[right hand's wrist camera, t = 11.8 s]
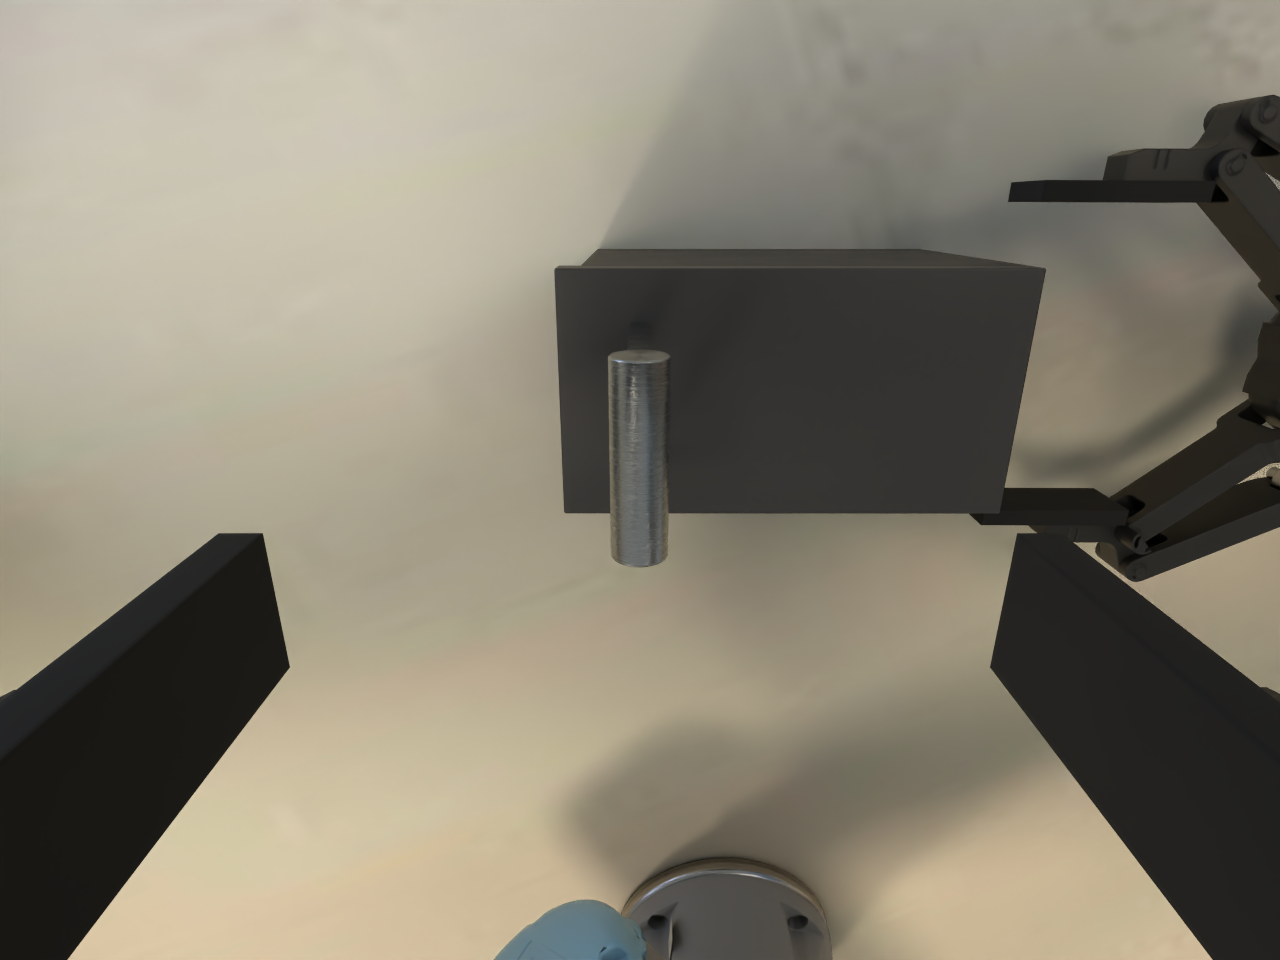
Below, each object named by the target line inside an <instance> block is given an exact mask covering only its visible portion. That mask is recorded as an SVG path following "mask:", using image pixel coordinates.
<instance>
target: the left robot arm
mask: <svg viewBox="0 0 1280 960" xmlns="http://www.w3.org/2000/svg"><path fill="white" fill-rule="evenodd" d="M1203 126H1204V130H1205V132H1204V134H1203V135H1202V137H1201V139H1200V140H1199V141H1198V143H1196V144H1195V145H1194V146H1193V147H1192V148H1190V149H1137V150H1128V151H1121V152H1118V153H1116V154H1113V155H1111V156H1108V158H1107V163H1106V167H1105V172H1104V177H1103V180H1040V181H1026V182H1012V183H1011V188H1010V194H1009V200H1008V202H1134V203H1180V202H1196V203H1197V204H1198V205H1199V207H1200V208H1201V209H1202V210H1203V211H1204V213H1205V214H1206V215H1207V216H1208V217H1209V219H1210V220H1211V221H1212V222H1213V223H1214V225H1215V226H1216V227H1217V228H1218V229H1219V230H1220V232H1221V233H1222V234H1223V235H1224V236H1225V238H1226V239H1227V240H1228V241H1229V242H1230V244H1231V245H1232V246H1233V247H1234V248H1235V250H1236V251H1237V252H1238V253H1239V254H1240V256H1241V257H1242V258H1243V259H1244V260H1245V262H1246V263H1247V264H1248V265H1249V266H1250V268H1251V269H1252V270H1253V271H1254V272H1255V274H1256V275H1257V276H1258V277H1259V278H1260V282H1259V283H1258V286H1259V288H1260V289H1261V291H1262V292H1263V293H1264V294H1265V295H1266V296H1267V298H1268V299H1269V300H1270V301H1271V302H1272V304H1273V305H1274V306H1275V307H1276V308H1277V310H1278V311H1279V312H1278V313H1277V314H1276V315H1275V316H1274V318H1273V319H1272V320H1271V322H1270V323H1267V322H1263V325H1262V329H1261V332H1260V335H1259V338H1258V354H1257V359H1256V361H1255V363H1254V364H1253V366H1252V368H1251V369H1250V371H1249V373H1248V375H1247V378H1246V381H1245V384H1244V387H1243V392H1246V393H1249V399H1247V400H1246V401H1244V402H1243V403H1241V404H1240V405H1238V406H1237V407H1235V408H1234V409H1232V410H1231V411H1229V412H1228V413H1226V414H1225V415H1223V416H1221V417H1220V418H1219V419H1218V420H1217V427H1216V428H1215V429H1214V430H1213V431H1211V432H1210V433H1208V434H1206V435H1205V436H1203V437H1202V438H1200V439H1199V440H1197V441H1196V442H1194V443H1193V444H1191V445H1190V446H1188V447H1187V448H1185V449H1184V450H1182V451H1180V452H1179V453H1177V454H1176V455H1174V456H1173V457H1171V458H1170V459H1168V460H1167V461H1165V462H1164V463H1162V464H1161V465H1159V466H1157V467H1156V468H1154V469H1153V470H1151V471H1150V472H1148V473H1147V474H1145V475H1144V476H1142V477H1141V478H1139V479H1138V480H1136V481H1134V482H1133V483H1131V484H1130V485H1128V486H1127V487H1125V488H1124V489H1122V490H1121V491H1119V492H1118V493H1116V494H1115V495H1113V496H1111V497H1110V498H1108V497H1107V496H1105V495H1104V494H1102V493H1100V492H1099V491H1097V490H1095V489H1094V488H1004V492H1003V497H1002V502H1001V507H1000V512H999V513H969V514H970V515H971V516H972V517H973V518H974V519H975V520H976V521H977V522H978V523H979V524H980V525H1029V527H1031V528H1032V529H1033V530H1034V531H1036V532H1037V533H1061V534H1063V535H1064V536H1065V537H1067V538H1068V539H1069V540H1070V541H1072V542H1099V543H1098V544H1097V546H1096V548H1095V550H1096V554H1097V556H1099V557H1100V558H1101V559H1103V560H1104V561H1105V562H1106V563H1108V564H1109V565H1110V566H1112V567H1113V568H1114V569H1116V570H1117V571H1118V572H1120V573H1121V574H1122V575H1124V576H1125V577H1126V578H1128V579H1129V580H1131V581H1134V582H1138V581H1142V580H1145V579H1147V578H1150V577H1153V576H1155V575H1158V574H1160V573H1163V572H1165V571H1168V570H1171V569H1173V568H1176V567H1178V566H1181V565H1183V564H1186V563H1188V562H1191V561H1194V560H1196V559H1199V558H1201V557H1204V556H1206V555H1209V554H1212V553H1214V552H1217V551H1219V550H1222V549H1224V548H1227V547H1229V546H1232V545H1235V544H1237V543H1240V542H1242V541H1245V540H1247V539H1250V538H1252V537H1255V536H1258V535H1260V534H1263V533H1265V532H1268V531H1270V530H1273V529H1276V528H1278V527H1280V469H1279V468H1277V467H1272V468H1270V469H1269V470H1268V471H1267V473H1266V475H1267V477H1263V478H1257V479H1253V480H1249V481H1246V482H1243V483H1240V484H1238V483H1239V482H1241V481H1242V480H1244V479H1246V478H1247V477H1249V476H1250V475H1252V474H1254V473H1255V472H1257V471H1258V470H1260V469H1261V468H1263V467H1265V466H1266V465H1268V464H1271V463H1280V191H1279V189H1278V188H1277V187H1276V186H1275V184H1274V183H1273V182H1272V180H1271V179H1270V178H1269V177H1268V175H1267V174H1266V173H1268V174H1269V175H1271V176H1272V177H1274V178H1275V179H1277V180H1278V181H1280V97H1278V96H1276V95H1269V96H1263V97H1256V98H1251V99H1245V100H1240V101H1234V102H1229V103H1223V104H1218V105H1216V106H1214V107H1213V108H1211V110H1210V111H1209V112H1208V113H1207V115H1206V117H1205V119H1204V125H1203ZM1264 171H1265V172H1266V173H1265V172H1264ZM1265 422H1268V423H1269V424H1270V425H1271V426H1272V427H1273V428H1274V429H1271V428H1268V427H1265V426H1262V424H1263V423H1265ZM1236 484H1237V485H1236ZM494 960H832V949H831V941H830V935H829V930H828V926H827V923H826V919H825V915H824V912H823V910H822V907H821V905H820V903H819V901H818V900H817V898H816V897H815V896H814V894H813V893H812V892H811V891H810V890H809V889H808V888H807V887H806V886H805V885H804V884H803V883H802V882H801V881H799V880H798V879H796V878H795V877H794V876H792V875H790V874H788V873H787V872H785V871H783V870H780V869H778V868H776V867H773V866H770V865H768V864H764V863H760V862H756V861H751V860H745V859H736V858H715V859H706V860H700V861H694V862H690V863H686V864H683V865H680V866H677V867H674V868H672V869H669V870H667V871H665V872H663V873H661V874H659V875H657V876H656V877H654V878H653V879H651V880H650V881H648V882H647V883H645V884H644V885H643V886H642V887H640V888H639V889H638V890H637V891H636V892H635V893H634V894H633V896H632V897H631V898H630V899H629V900H628V902H627V904H626V905H625V907H624V908H623V910H622V912H621V914H620V913H619V912H617V911H616V910H615V909H614V908H612V907H611V906H609V905H607V904H605V903H603V902H600V901H596V900H577V901H572V902H569V903H565V904H563V905H560V906H558V907H556V908H554V909H552V910H550V911H548V912H547V913H545V914H544V915H543V916H542V917H540V918H539V919H538V920H537V921H536V922H534V923H533V924H530V925H528V926H526V927H525V928H524V929H523V930H522V931H521V932H519V933H518V934H517V935H516V936H515V937H514V938H513V939H512V940H511V941H510V942H509V943H508V944H507V945H506V946H505V947H504V948H503V949H502V951H501V952H500V953H499V954H498V955H497V956H496V957H495V959H494Z"/></svg>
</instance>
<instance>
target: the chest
mask: <svg viewBox="0 0 1280 960" xmlns="http://www.w3.org/2000/svg"><path fill="white" fill-rule="evenodd" d="M581 266H1026V265H1020V264H1013V263H1007V262H1000V261H994V260H987V259H980V258H974V257H967V256H961V255H954V254H947V253H941V252H934V251H928V250H921V249H598V250H597V251H596V252H595V253H594V254H593V255H591V256H590V257H589V258H588V259H587V260H586V261H585V262H584V263H583V264H582V265H581Z"/></svg>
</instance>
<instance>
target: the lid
mask: <svg viewBox="0 0 1280 960" xmlns="http://www.w3.org/2000/svg"><path fill="white" fill-rule="evenodd" d="M554 271H555V295H556V320H557V345H558V370H559V395H560V419H561V444H562V469H563V494H564V512H565V513H610V518H611V556H612V558H613V559H614V560H615V561H616V562H618V563H620V564H622V565H626V566H631V567H648V566H653V565H656V564H659V563H661V562H663V561H664V560H665V559H666V557H667V555H668V513H999V512H1000V507H1001V502H1002V497H1003V492H1004V487H1005V481H1006V476H1007V471H1008V466H1009V460H1010V455H1011V450H1012V445H1013V439H1014V434H1015V429H1016V424H1017V418H1018V413H1019V408H1020V403H1021V398H1022V392H1023V387H1024V382H1025V377H1026V371H1027V366H1028V361H1029V356H1030V350H1031V345H1032V340H1033V335H1034V329H1035V324H1036V319H1037V314H1038V309H1039V303H1040V298H1041V293H1042V288H1043V282H1044V277H1045V272H1046V269H1045V268H1040V267H1033V266H558V267H557V268H555V270H554Z"/></svg>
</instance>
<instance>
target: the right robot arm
mask: <svg viewBox="0 0 1280 960" xmlns="http://www.w3.org/2000/svg"><path fill="white" fill-rule="evenodd" d="M289 668H290V666H289V661H288V656H287V651H286V646H285V641H284V636H283V631H282V626H281V621H280V616H279V611H278V606H277V601H276V597H275V592H274V587H273V582H272V577H271V572H270V567H269V562H268V557H267V552H266V547H265V542H264V537H263V533H219V534H217V535H216V536H215V537H213V538H212V539H211V540H210V541H208V542H207V543H206V544H204V545H203V546H202V547H201V548H199V549H198V550H197V551H195V552H194V553H193V554H191V555H190V556H189V557H188V558H186V559H185V560H184V561H182V562H181V563H180V564H179V565H177V566H176V567H175V568H173V569H172V570H171V571H170V572H168V573H167V574H166V575H164V576H163V577H162V578H161V579H159V580H158V581H157V582H155V583H154V584H153V585H151V586H150V587H149V588H148V589H146V590H145V591H144V592H142V593H141V594H140V595H139V596H137V597H136V598H135V599H133V600H132V601H131V602H130V603H128V604H127V605H126V606H124V607H123V608H122V609H120V610H119V611H118V612H117V613H115V614H114V615H113V616H111V617H110V618H109V619H108V620H106V621H105V622H104V623H102V624H101V625H100V626H99V627H97V628H96V629H95V630H93V631H92V632H91V633H89V634H88V635H87V636H86V637H84V638H83V639H82V640H80V641H79V642H78V643H77V644H75V645H74V646H73V647H71V648H70V649H69V650H68V651H66V652H65V653H64V654H62V655H61V656H60V657H59V658H57V659H56V660H55V661H53V662H52V663H51V664H49V665H48V666H47V667H46V668H44V669H43V670H42V671H40V672H39V673H38V674H37V675H35V676H34V677H33V678H31V679H30V680H29V681H28V682H26V683H25V684H24V685H22V686H21V687H20V688H18V689H17V690H13V691H11V692H9V693H7V694H5V695H3V696H1V697H0V960H67V959H68V958H69V957H70V955H71V954H72V953H73V951H74V950H75V949H76V948H77V946H78V945H79V944H80V942H81V941H82V940H83V938H84V937H85V936H86V934H87V933H88V932H89V930H90V929H91V928H92V927H93V925H94V924H95V923H96V921H97V920H98V919H99V917H100V916H101V915H102V913H103V912H104V911H105V909H106V908H107V907H108V905H109V904H110V903H111V902H112V900H113V899H114V898H115V896H116V895H117V894H118V892H119V891H120V890H121V888H122V887H123V886H124V884H125V883H126V882H127V881H128V879H129V878H130V877H131V875H132V874H133V873H134V871H135V870H136V869H137V867H138V866H139V865H140V863H141V862H142V861H143V860H144V858H145V857H146V856H147V854H148V853H149V852H150V850H151V849H152V848H153V846H154V845H155V844H156V842H157V841H158V840H159V838H160V837H161V836H162V835H163V833H164V832H165V831H166V829H167V828H168V827H169V825H170V824H171V823H172V821H173V820H174V819H175V817H176V816H177V815H178V814H179V812H180V811H181V810H182V808H183V807H184V806H185V804H186V803H187V802H188V800H189V799H190V798H191V796H192V795H193V794H194V792H195V791H196V790H197V789H198V787H199V786H200V785H201V783H202V782H203V781H204V779H205V778H206V777H207V775H208V774H209V773H210V771H211V770H212V769H213V768H214V766H215V765H216V764H217V762H218V761H219V760H220V758H221V757H222V756H223V754H224V753H225V752H226V750H227V749H228V748H229V747H230V745H231V744H232V743H233V741H234V740H235V739H236V737H237V736H238V735H239V733H240V732H241V731H242V729H243V728H244V727H245V725H246V724H247V723H248V722H249V720H250V719H251V718H252V716H253V715H254V714H255V712H256V711H257V710H258V708H259V707H260V706H261V704H262V703H263V702H264V701H265V699H266V698H267V697H268V695H269V694H270V693H271V691H272V690H273V689H274V687H275V686H276V685H277V683H278V682H279V681H280V679H281V678H282V677H283V676H284V674H285V673H286V672H287V670H288V669H289ZM990 668H991V669H992V670H993V672H994V673H995V674H996V676H997V677H998V678H999V680H1000V681H1001V682H1002V683H1003V685H1004V686H1005V687H1006V689H1007V690H1008V691H1009V693H1010V694H1011V695H1012V697H1013V698H1014V699H1015V701H1016V702H1017V703H1018V704H1019V706H1020V707H1021V708H1022V710H1023V711H1024V712H1025V714H1026V715H1027V716H1028V718H1029V719H1030V720H1031V722H1032V723H1033V724H1034V725H1035V727H1036V728H1037V729H1038V731H1039V732H1040V733H1041V735H1042V736H1043V737H1044V739H1045V740H1046V741H1047V743H1048V744H1049V745H1050V747H1051V748H1052V749H1053V750H1054V752H1055V753H1056V754H1057V756H1058V757H1059V758H1060V760H1061V761H1062V762H1063V764H1064V765H1065V766H1066V768H1067V769H1068V770H1069V771H1070V773H1071V774H1072V775H1073V777H1074V778H1075V779H1076V781H1077V782H1078V783H1079V785H1080V786H1081V787H1082V789H1083V790H1084V791H1085V792H1086V794H1087V795H1088V796H1089V798H1090V799H1091V800H1092V802H1093V803H1094V804H1095V806H1096V807H1097V808H1098V810H1099V811H1100V812H1101V814H1102V815H1103V816H1104V817H1105V819H1106V820H1107V821H1108V823H1109V824H1110V825H1111V827H1112V828H1113V829H1114V831H1115V832H1116V833H1117V835H1118V836H1119V837H1120V838H1121V840H1122V841H1123V842H1124V844H1125V845H1126V846H1127V848H1128V849H1129V850H1130V852H1131V853H1132V854H1133V856H1134V857H1135V858H1136V860H1137V861H1138V862H1139V863H1140V865H1141V866H1142V867H1143V869H1144V870H1145V871H1146V873H1147V874H1148V875H1149V877H1150V878H1151V879H1152V881H1153V882H1154V883H1155V884H1156V886H1157V887H1158V888H1159V890H1160V891H1161V892H1162V894H1163V895H1164V896H1165V898H1166V899H1167V900H1168V902H1169V903H1170V904H1171V905H1172V907H1173V908H1174V909H1175V911H1176V912H1177V913H1178V915H1179V916H1180V917H1181V919H1182V920H1183V921H1184V923H1185V924H1186V925H1187V927H1188V928H1189V929H1190V930H1191V932H1192V933H1193V934H1194V936H1195V937H1196V938H1197V940H1198V941H1199V942H1200V944H1201V945H1202V946H1203V948H1204V949H1205V950H1206V951H1207V953H1208V954H1209V955H1210V957H1211V958H1212V959H1213V960H1280V694H1279V693H1277V692H1275V691H1273V690H1271V689H1269V688H1267V687H1259V686H1258V685H1256V684H1255V683H1254V682H1252V681H1251V680H1250V679H1249V678H1247V677H1246V676H1245V675H1243V674H1242V673H1241V672H1240V671H1238V670H1237V669H1236V668H1234V667H1233V666H1232V665H1231V664H1229V663H1228V662H1227V661H1225V660H1224V659H1223V658H1221V657H1220V656H1219V655H1218V654H1216V653H1215V652H1214V651H1212V650H1211V649H1210V648H1209V647H1207V646H1206V645H1205V644H1203V643H1202V642H1201V641H1200V640H1198V639H1197V638H1196V637H1194V636H1193V635H1192V634H1191V633H1189V632H1188V631H1187V630H1185V629H1184V628H1183V627H1181V626H1180V625H1179V624H1178V623H1176V622H1175V621H1174V620H1172V619H1171V618H1170V617H1169V616H1167V615H1166V614H1165V613H1163V612H1162V611H1161V610H1160V609H1158V608H1157V607H1156V606H1154V605H1153V604H1152V603H1150V602H1149V601H1148V600H1147V599H1145V598H1144V597H1143V596H1141V595H1140V594H1139V593H1138V592H1136V591H1135V590H1134V589H1132V588H1131V587H1130V586H1129V585H1127V584H1126V583H1125V582H1123V581H1122V580H1121V579H1119V578H1118V577H1117V576H1116V575H1114V574H1113V573H1112V572H1110V571H1109V570H1108V569H1107V568H1105V567H1104V566H1103V565H1101V564H1100V563H1099V562H1098V561H1096V560H1095V559H1094V558H1092V557H1091V556H1090V555H1089V554H1087V553H1086V552H1085V551H1083V550H1082V549H1081V548H1079V547H1078V546H1077V545H1076V544H1074V543H1073V542H1072V541H1070V540H1069V539H1068V538H1067V537H1065V536H1064V535H1063V534H1061V533H1017V537H1016V542H1015V547H1014V552H1013V557H1012V562H1011V567H1010V572H1009V577H1008V582H1007V587H1006V592H1005V597H1004V601H1003V606H1002V611H1001V616H1000V621H999V626H998V631H997V636H996V641H995V646H994V651H993V656H992V661H991V666H990Z"/></svg>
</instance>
